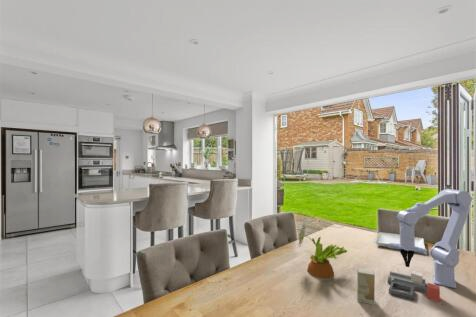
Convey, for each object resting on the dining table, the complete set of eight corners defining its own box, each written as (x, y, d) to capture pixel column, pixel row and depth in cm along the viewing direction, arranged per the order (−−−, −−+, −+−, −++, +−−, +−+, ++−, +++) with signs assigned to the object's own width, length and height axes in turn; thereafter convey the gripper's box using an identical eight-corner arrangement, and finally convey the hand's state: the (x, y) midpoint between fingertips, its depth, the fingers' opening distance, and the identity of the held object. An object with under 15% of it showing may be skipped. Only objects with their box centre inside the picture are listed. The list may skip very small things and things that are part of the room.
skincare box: (357, 301, 102) (357, 272, 102) (356, 296, 106) (356, 267, 106) (375, 305, 100) (375, 274, 100) (373, 299, 104) (373, 269, 104)
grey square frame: (391, 285, 114) (391, 281, 115) (414, 291, 109) (414, 286, 109) (388, 293, 108) (388, 289, 108) (412, 300, 103) (412, 295, 103)
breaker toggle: (411, 279, 117) (411, 270, 117) (422, 281, 114) (422, 273, 114) (411, 282, 114) (411, 273, 114) (422, 285, 111) (421, 276, 111)
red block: (427, 294, 107) (427, 282, 107) (439, 297, 104) (439, 285, 104) (427, 298, 104) (427, 286, 104) (439, 301, 101) (439, 289, 101)
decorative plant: (303, 259, 145) (303, 216, 145) (349, 267, 135) (348, 220, 135) (292, 279, 121) (291, 228, 121) (346, 290, 111) (345, 234, 111)
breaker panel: (390, 275, 125) (390, 270, 125) (425, 283, 116) (425, 278, 116) (387, 283, 117) (387, 277, 117) (424, 292, 108) (424, 286, 108)
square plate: (374, 247, 165) (374, 241, 165) (379, 236, 188) (379, 231, 188) (425, 255, 150) (425, 249, 150) (423, 243, 172) (423, 237, 172)
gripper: (387, 236, 118) (388, 265, 118) (426, 242, 109) (426, 273, 109) (389, 232, 123) (390, 260, 123) (426, 238, 114) (427, 267, 114)
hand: (407, 266), depth 116 cm, fingers closed
